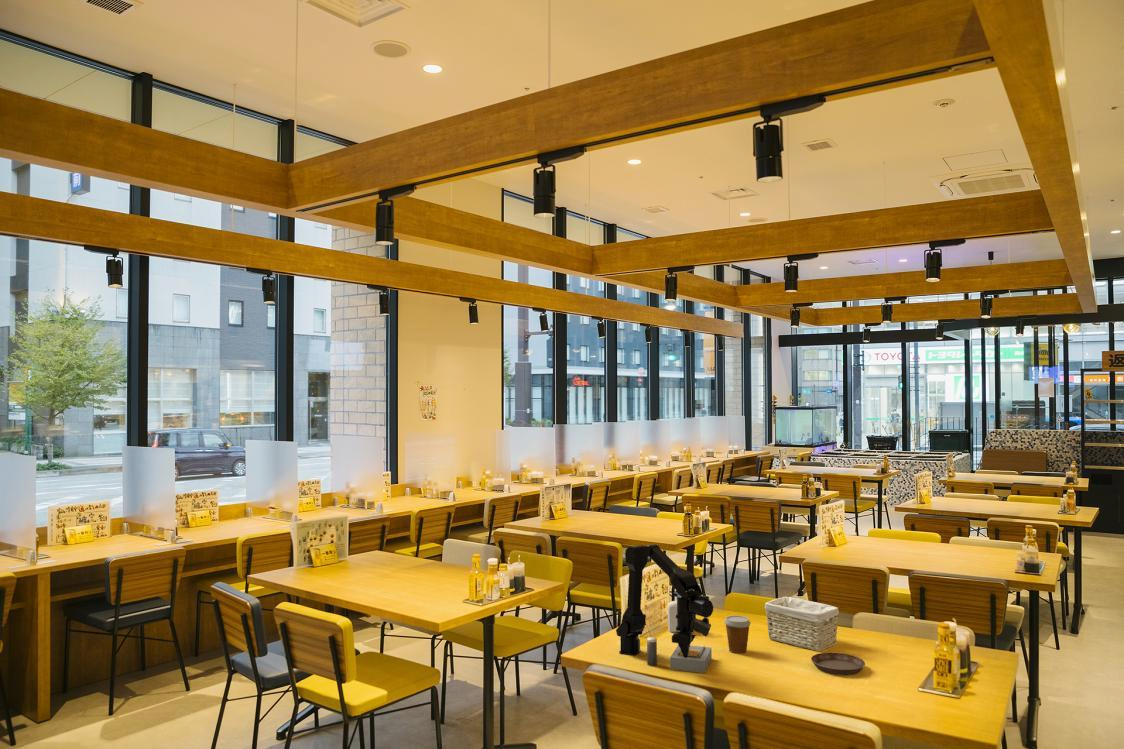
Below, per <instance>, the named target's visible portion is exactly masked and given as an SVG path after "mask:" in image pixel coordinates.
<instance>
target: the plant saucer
mask: <svg viewBox="0 0 1124 749" xmlns="http://www.w3.org/2000/svg"><path fill="white" fill-rule="evenodd" d="M810 660H811V662H812V663H813V664H814V666H815V668H817V669H818V670H819V671H821V672H823V673H826V674H829V675H835V676H853V675H857V674H858V673H860V672H861V671H862V670H863V669H864V667H865V666H866V662H865V661H864V659H862V658H861V657H858V656H855V655H852V654H849V653H847V654H846V653H842V652H841V653H840V652H821V653H816V654H814V655H812V656H811V657H810Z"/></svg>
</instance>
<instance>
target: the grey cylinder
mask: <svg viewBox="0 0 1124 749" xmlns="http://www.w3.org/2000/svg"><path fill="white" fill-rule="evenodd" d="M657 643H658V639H657V638H656V637H653V636H651V637H650V636H649V637H647V638H646V657H647V658H646V662H647V666H648V667H655V666H657V665H658V646H657V645H658V644H657Z"/></svg>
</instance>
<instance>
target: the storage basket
mask: <svg viewBox="0 0 1124 749" xmlns="http://www.w3.org/2000/svg"><path fill="white" fill-rule="evenodd" d="M764 610H765V613H766V621H767V622H766V623H767V634H768V638H769V639H770V640H771V641H775V642H780V643H784V644H787V645H788V644H789V645H792V646H794V647H798V648H801V649H802V648H804V649H808V650H812V651H816V652H822V651H823V650H825V649H828V648H831V647H833V646H835V645H836V644H837V634H838V631H837V630H838V615H839V614H840V611H839V607H836V606H833V605H829V604H826V603H821V602H815V601H812V600H806V599H802V598H797V597H790V596H782V597H779V598H775V599H772V600H769V601H767V602H765V604H764Z"/></svg>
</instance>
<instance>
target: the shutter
mask: <svg viewBox="0 0 1124 749" xmlns="http://www.w3.org/2000/svg"><path fill="white" fill-rule="evenodd" d="M699 653H700V650H696V649H689V653H688V656H695V657H697V656H698V654H699ZM680 655H683V654H682V651H681V649H680Z"/></svg>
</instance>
